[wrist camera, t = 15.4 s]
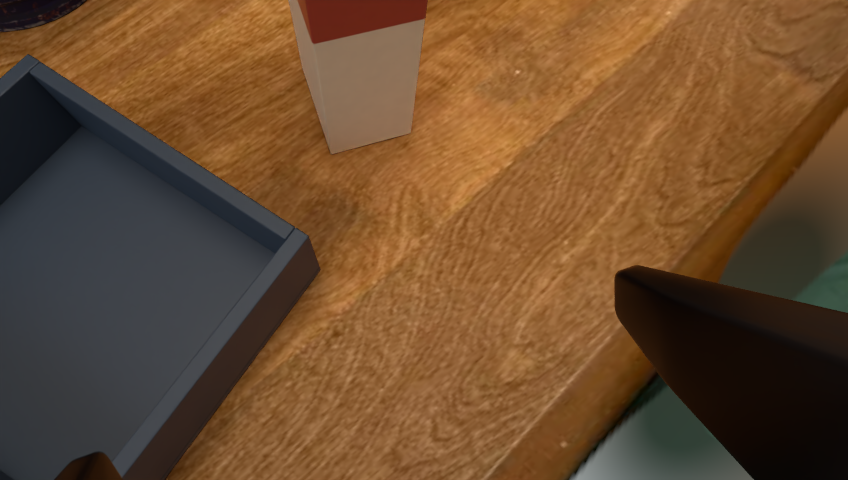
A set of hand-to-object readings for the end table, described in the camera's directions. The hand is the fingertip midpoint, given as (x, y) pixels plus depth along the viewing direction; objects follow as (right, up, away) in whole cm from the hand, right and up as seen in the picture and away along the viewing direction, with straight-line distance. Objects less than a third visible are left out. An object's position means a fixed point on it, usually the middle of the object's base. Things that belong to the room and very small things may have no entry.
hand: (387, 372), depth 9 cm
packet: (-3, +9, +17) cm, 20 cm away
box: (-13, -1, +13) cm, 18 cm away
